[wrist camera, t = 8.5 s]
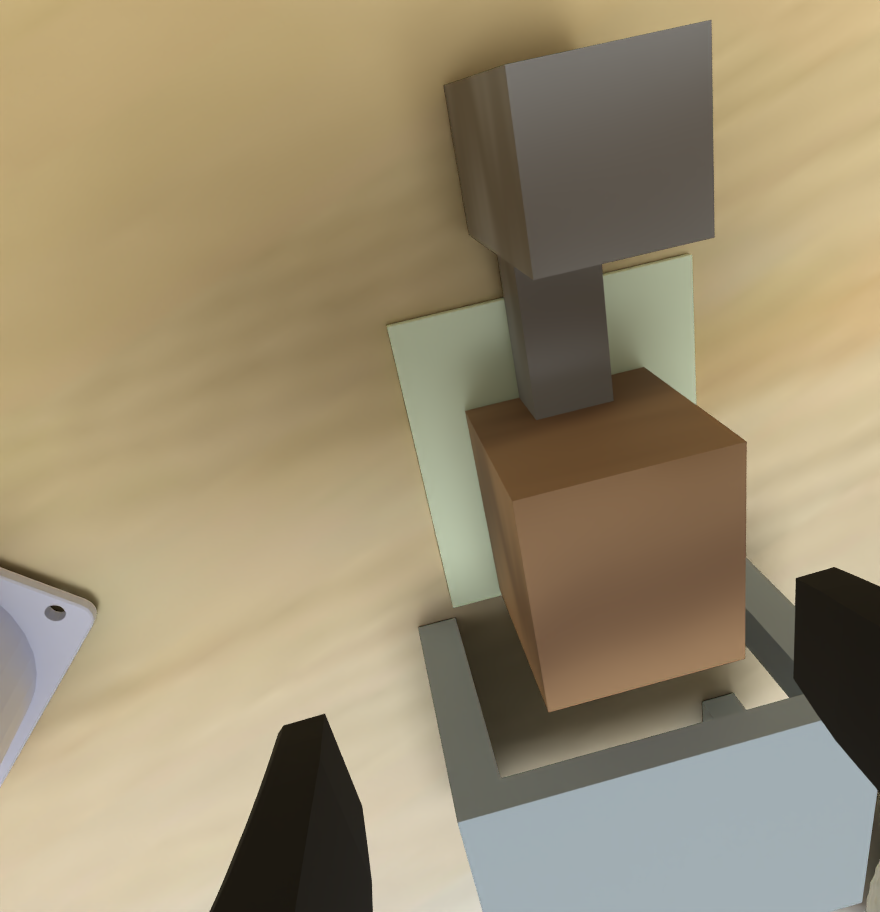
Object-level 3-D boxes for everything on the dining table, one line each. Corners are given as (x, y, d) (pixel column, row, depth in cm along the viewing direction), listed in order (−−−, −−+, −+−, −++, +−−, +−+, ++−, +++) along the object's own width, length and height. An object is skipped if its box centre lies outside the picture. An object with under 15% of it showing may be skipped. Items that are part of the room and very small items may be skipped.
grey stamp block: (403, 94, 15) (445, 78, 10) (623, 46, 15) (768, 7, 10) (499, 588, 21) (555, 728, 16) (655, 548, 21) (756, 673, 16)
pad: (386, 325, 17) (387, 326, 17) (688, 253, 18) (692, 255, 18) (452, 604, 21) (453, 608, 21) (697, 539, 22) (700, 543, 22)
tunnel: (418, 627, 22) (457, 822, 16) (733, 544, 22) (889, 701, 16) (463, 795, 25) (509, 1007, 19) (733, 720, 26) (862, 902, 20)
